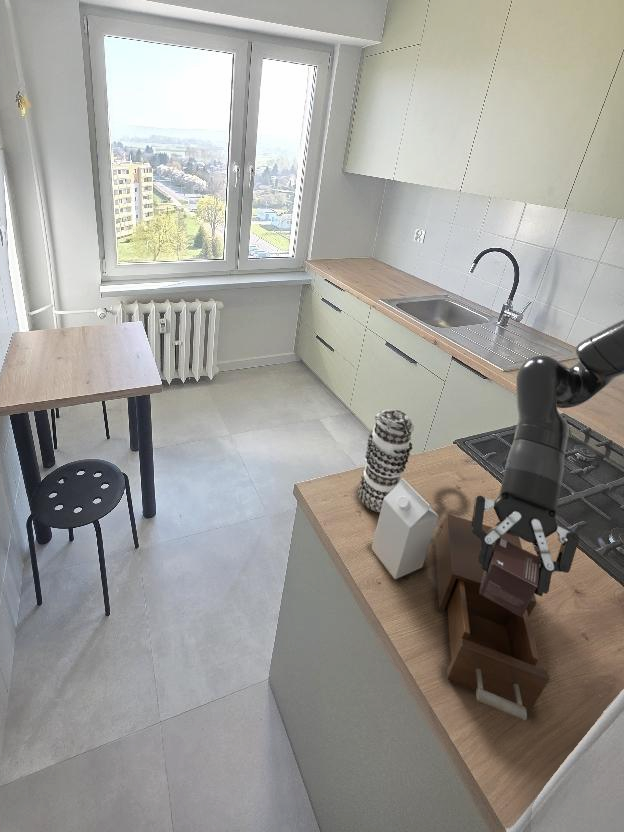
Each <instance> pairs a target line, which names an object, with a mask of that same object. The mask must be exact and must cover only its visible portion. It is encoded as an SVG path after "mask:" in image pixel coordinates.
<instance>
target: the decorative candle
mask: <svg viewBox="0 0 624 832" xmlns="http://www.w3.org/2000/svg"><path fill="white" fill-rule="evenodd" d="M374 420H375V422H374V426H373V427H372V429H371V430H370V432H369V434H368V439H367V444H366V445H367V447H366V449H367V450H366V453H365V456H364V457H365V464H366V465H365V467H364V470H363V472H362V475H361V476H360V477H361V480H360V482H359V487H358V491H357V495H358V499H359V501H360V502H361V503H362V505H363V506H365V507H367V509H368V510H371V511H374V512H375V513H377V512H378V513H380V512H381V508H382V504H383V500H384V497H385V496H386V495H387V494H389V493H390V492H391V491H392V490H393V489H394V488H395V487H396V486H397V485H398V484H399V483H400V482H401V476H402V475H403V474H404V471H405V469H406V468H407V467H406V464H407V463H409V458H410V455H411V453H410V452H411V451H412V450H413V443H412V442H411V441H412V433H414V431H415V428H416V426H415V423H414V422H413V420H412V419H411V418H410V417H409V416H408V414H406V413H405V412H403V411H401V410H399V409H393V408H390V409H389V408H388V409H385V410H383V411H379V412H378V413H376V414H375V416H374Z"/></svg>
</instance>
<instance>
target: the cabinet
mask: <svg viewBox="0 0 624 832" xmlns="http://www.w3.org/2000/svg"><path fill="white" fill-rule="evenodd" d="M471 526H472V520H469V519H467V518H464V517H463V518H462V517H459V516H456V515H453V514H449V513H446V515H445V519H444V522H443V525H442V527H441V531H440V534H439V537H438V540H437V543H436V545H435V555H436V575H437V592H438V594H437V595H438V609H439V610H440V611H445V610H446V607H447V604H448V601H449V598H450V595H451V593H452V590H453V588H454V585H455V582H456V580H457V579H460V580H463V581H465V582H468V583H471V584H474V585H477V586H481V581H482V577H483V573H484V570H483V569H481V566H482V564H480V563H479V562H478V557H479V553H480V548H481V544H482V542H481V540H480V538H479V537H477V536H476V535H475V534H473V533H472V531H471ZM492 527H493V526H490V525H486V524H482V530H483V531H484V532H485V533H487V532H488V531H490V530H491V528H492ZM499 538H501V539H503V540H505V541H507V542H509V543H511V544H513V545H515V546H517V547H520V548H522V549H523V546H522V542H521V538H520V537H519V536H514V535H511V534H508V533H507V532H505V533H504V534H503V535H502V536H500V537H499ZM494 544H495V542H494V543H493V544H492V547H493V546H494ZM536 604H537V599H536V594H535V593H534V594H533V596H532V598H531V600H530V603H529V605H528V607H527V613H528V617H529V618H530V616H531V614H532V612H533V610H534V608H535V606H536Z"/></svg>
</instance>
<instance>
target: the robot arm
mask: <svg viewBox="0 0 624 832" xmlns="http://www.w3.org/2000/svg"><path fill="white" fill-rule="evenodd" d="M575 354H576V357H577V359H578V362H577V363H576V364H574V365H573V366H570V367H569V366H567V365H566V364H564V363H562V362H561V361H559V360H558V359H555V358H554V357H552V356H550V355H545V354H539V355H538V354H537V355H534V356H531V357H529V358H527V359H526V360H525V361H524V362H523V363H522V365H521V366H520V368H519V369H518V372H517V375H516V380H515V389H516V392H515V393H516V406H517V415H518V420H517V423H516V427H515V432H514V436H513V441H512V444H511V447H510V449H509V451H508V455H507V459H506V461H505V468H504V472H503V477H502V482H501V486H500V490H499V494H498V497H497V498H496V499H495V500H492V499H489V498H485V497H484V496H483V495H478V496H475V497H474V502H473V508H472V509H473V511H472V519H471V521H472V526H471V531H472V533H473V534H475V535H476V536H477V537H479V538H480V540H481V542H482V544H481V548H480V553H479V557H478V562H479V563H480V564H482V566H481V569H483V570H485V571H488V569H489V565H490V561H491V556H492V552H493V547H492V544H493V543H494V542H495V541H496V540H497V539H498V538H499V537H500V536H502V535H503V534H504V533H505V532H507V533H508V534H511V535H514V536H519V539H522V540H523V541H525V542H528V543H529V544H531V543H532V546H533V549H534V551H535V553H536V556H538V557H539V558H540V569H539V580H538V587H537V589H536V590H535V593H534V594H535V595H537V596H539V597H543V595H544V594H545V595H547V594H548V593H549V591H550V586H551V581H552V576H553V573H554V572H558V573H559V572H560V573H564V574H565V573H567V574H568V573H569V572H570V571H571V568H572V564H573V561H574V558H575V554H576V551H577V548H578V544H579V542H580V535H579V534H578V533H577V532H575V531H570V530H567V529H566V528H563V527H562V526H560V525H558V523H557V519H556V515H557V510H558V504H559V498H560V493H561V490H562V489H561V488H562V483H563V478H564V473H565V455H566V451H567V445H568V439H569V433H570V427H569V423H568V422H567V421H566V419H565V418H564V417H563V416H562V414H561V413H560V412H559V410H558V408H559V409H569V408H575V407H578V406H581V405H583V404H584V403H586V402H588V401H589V400H590V399H592V398H594V397H595V396H596V395H597V394H598V393H600V392H601V391H602V390H603V389H605V388H606V387H607V386H608V385H609V384H611V383H612V382H613V381H614V380H616V379H617V378H618V377H621V376H623V375H624V318H623V319H621V320H619V321H617V322H615V323H613V324H611V325H609V326H607V327H606V328H604V329H601V330H600V331H598V332H596V333H595V334H592V335H591V336H588V337H587V338H585V339H584V340H581V342H579V343H578V344H577V345H576V347H575ZM491 508H493V509H494V512H495V514H496V516H497V518H498V521H497V523H495V525H493V526H491V527H492V528H491V530H490V531H488V532H487V533H485V532H484V531H483V530H482V524H483V523H484V513H487V512H489V511H490V509H491ZM483 525H484V524H483ZM554 533H556V535H557V540H558V542H559V543H560V547H559V550H558V553H557V557H556V560H553V559H552V556H551V550H550V548H549V544H548V542H547V538H548V537H549V536H551V535H552V534H554Z"/></svg>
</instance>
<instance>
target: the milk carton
mask: <svg viewBox="0 0 624 832" xmlns="http://www.w3.org/2000/svg"><path fill="white" fill-rule="evenodd" d="M439 517H440V515H438V513H437V512H436V511H435V510H434V509H433V508H432V507H431V505H430V504H429V503H428V502H427V501H426V500H425V498H423V497H422V496H421V495H420V494H419V492H417V491H416V490H415V489H414V488H413V487H412V486H411V485H410V484H409V482H407V481H406V480H405V479H404V478H403V477H400V482H399V484H398V485H397V486H396V487H395V488H394V489H393V490H392V491H391V492H390V493H389V494H387V495H386V496H385V497H384V500H383V504H382V508H381V512H379V517H378V521H377V525H376V529H375V533H374V536H373V541H372V545H371V550H372V552H373V553H374V554H375V555H376V557H377V558H378V559H379V561H380V562H381V564H382V565H383V566H384V567H385V569H386V570H387V571H388V572H389V574H390V575H391V576H392V578H393V579H394V580H397V579H400V578H402V577H404V576H406V575H408V574H410V573H413V572H415V571H417V570H420V569H422V568H423V567H424V563H425V561H426V557H427V554H428V552H429V549H430V545H431V542H432V539H433V536H434V533H435V530H436V526H437V524H438V520H439V519H440V518H439Z"/></svg>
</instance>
